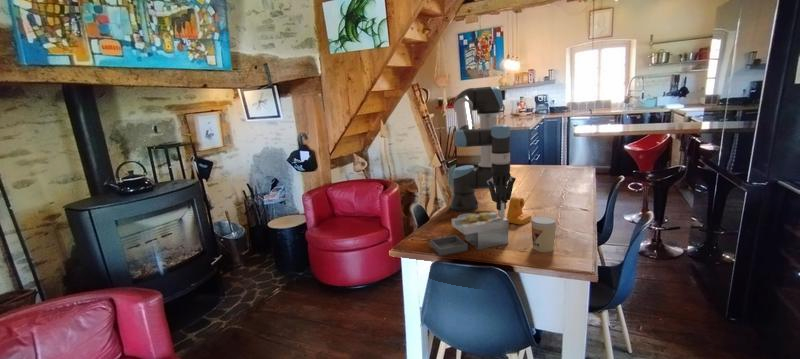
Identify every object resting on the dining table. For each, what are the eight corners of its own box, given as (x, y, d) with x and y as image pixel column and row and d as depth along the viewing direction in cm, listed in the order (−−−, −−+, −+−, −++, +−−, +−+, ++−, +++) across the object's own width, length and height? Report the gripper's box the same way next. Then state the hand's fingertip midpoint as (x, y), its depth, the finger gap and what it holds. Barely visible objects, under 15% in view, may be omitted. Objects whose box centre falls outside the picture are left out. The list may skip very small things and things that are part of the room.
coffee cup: (526, 245, 154) (527, 217, 152) (548, 242, 155) (549, 215, 152) (536, 254, 145) (537, 224, 143) (560, 251, 146) (561, 222, 143)
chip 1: (466, 223, 158) (466, 215, 157) (473, 222, 159) (473, 214, 158) (470, 225, 155) (469, 217, 154) (477, 224, 156) (477, 216, 155)
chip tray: (430, 246, 160) (430, 239, 159) (456, 241, 163) (455, 235, 162) (440, 256, 149) (440, 249, 149) (467, 251, 152) (467, 244, 152)
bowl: (467, 235, 168) (467, 222, 167) (452, 228, 178) (452, 216, 177) (487, 230, 173) (487, 217, 172) (471, 223, 183) (471, 211, 182)
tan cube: (479, 221, 160) (478, 213, 159) (486, 219, 161) (486, 212, 160) (483, 223, 157) (482, 215, 156) (490, 222, 157) (490, 214, 157)
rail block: (452, 241, 163) (451, 218, 161) (493, 234, 168) (493, 211, 166) (464, 252, 152) (464, 227, 149) (508, 243, 157) (508, 219, 155)
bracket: (520, 226, 176) (520, 201, 173) (506, 223, 181) (506, 199, 179) (532, 220, 183) (532, 196, 180) (518, 217, 188) (518, 194, 185)
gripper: (491, 165, 150) (492, 221, 155) (519, 162, 154) (519, 217, 159) (482, 163, 157) (483, 216, 162) (509, 159, 161) (509, 212, 166)
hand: (501, 216), depth 161 cm, fingers closed
